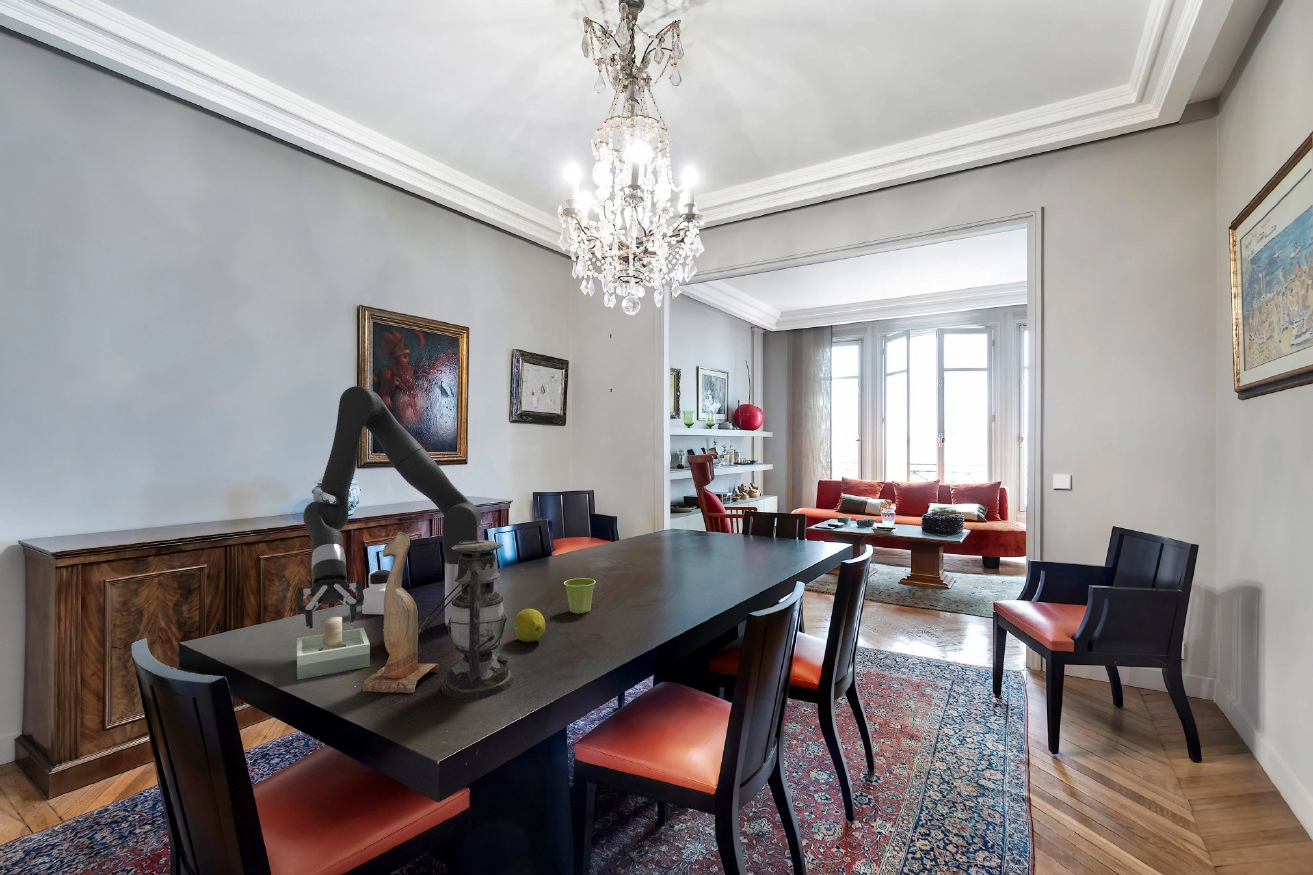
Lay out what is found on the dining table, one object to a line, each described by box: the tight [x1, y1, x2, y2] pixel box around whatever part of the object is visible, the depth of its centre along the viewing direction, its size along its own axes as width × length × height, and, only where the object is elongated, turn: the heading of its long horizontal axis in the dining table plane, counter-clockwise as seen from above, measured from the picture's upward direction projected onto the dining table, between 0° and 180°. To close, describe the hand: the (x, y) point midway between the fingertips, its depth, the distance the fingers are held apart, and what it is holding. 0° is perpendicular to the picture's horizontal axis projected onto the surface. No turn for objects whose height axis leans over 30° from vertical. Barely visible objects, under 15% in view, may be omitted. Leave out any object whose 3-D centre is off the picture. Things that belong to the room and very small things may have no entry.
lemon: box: [512, 608, 546, 643], centre depth 149 cm, size 11×8×8 cm
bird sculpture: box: [362, 531, 440, 694], centre depth 125 cm, size 11×12×32 cm
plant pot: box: [563, 577, 597, 614], centre depth 176 cm, size 9×9×9 cm
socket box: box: [296, 627, 371, 680], centre depth 135 cm, size 14×14×5 cm
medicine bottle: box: [361, 569, 391, 615], centre depth 177 cm, size 7×7×12 cm
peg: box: [321, 616, 343, 651], centre depth 135 cm, size 4×4×10 cm
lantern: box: [418, 539, 515, 700], centre depth 123 cm, size 19×19×30 cm
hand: (332, 623), depth 139 cm, fingers open, 8 cm apart
